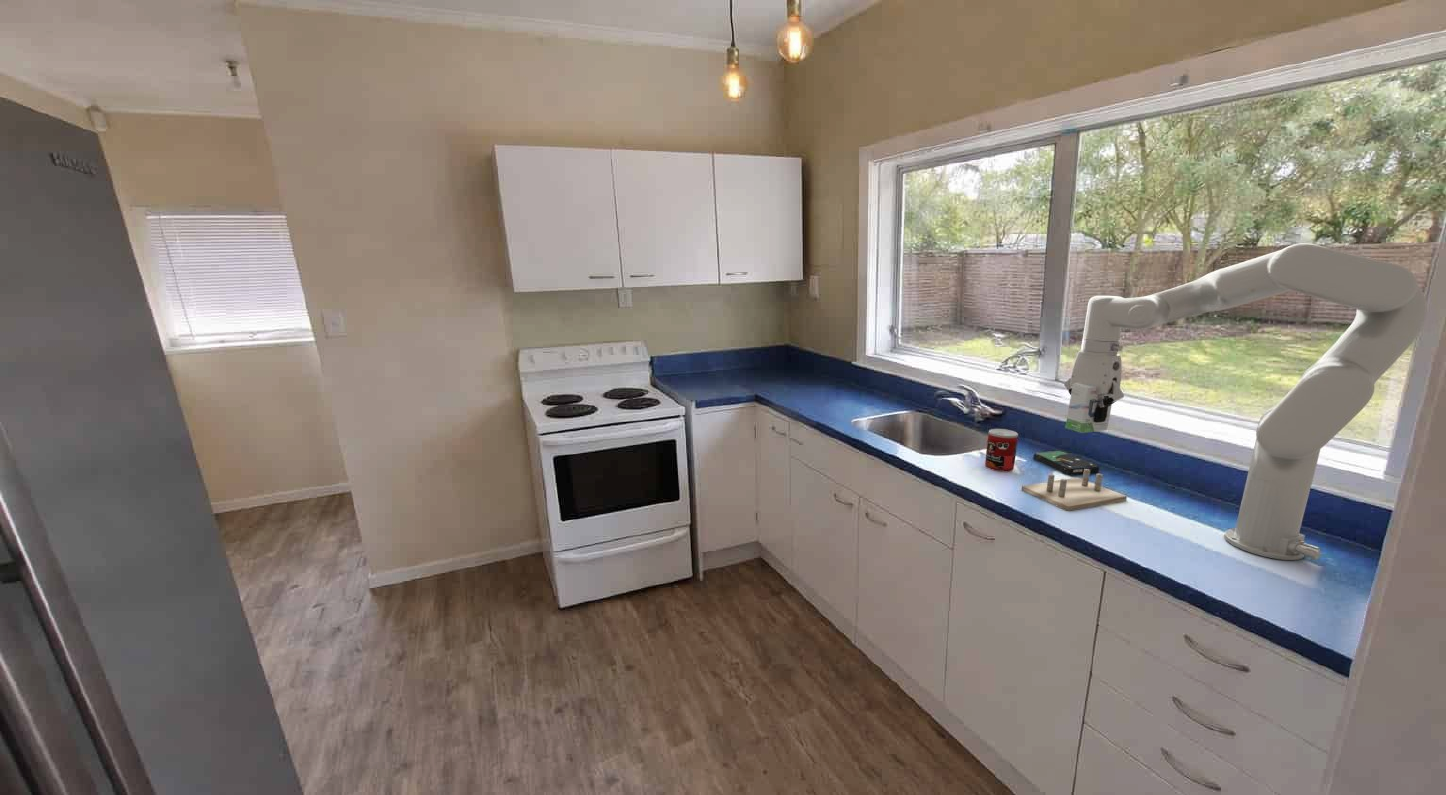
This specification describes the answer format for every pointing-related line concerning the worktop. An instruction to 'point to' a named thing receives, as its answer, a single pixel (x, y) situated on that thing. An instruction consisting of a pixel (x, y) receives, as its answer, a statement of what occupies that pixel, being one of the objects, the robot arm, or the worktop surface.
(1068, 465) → the disk drive
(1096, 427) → the ink box
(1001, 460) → the canned food
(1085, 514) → the worktop surface
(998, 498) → the worktop surface
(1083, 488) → the pin tray
